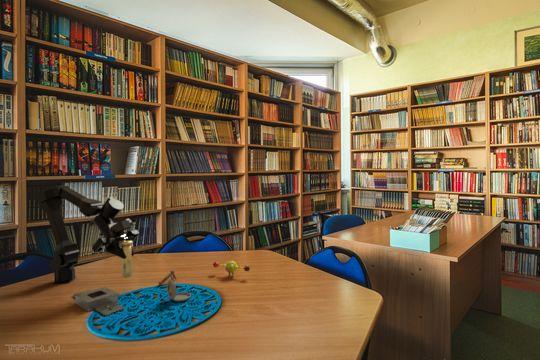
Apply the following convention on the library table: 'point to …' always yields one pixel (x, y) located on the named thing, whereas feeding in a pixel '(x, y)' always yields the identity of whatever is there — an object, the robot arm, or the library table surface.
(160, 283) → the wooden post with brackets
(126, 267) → the pin
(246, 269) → the toy figure
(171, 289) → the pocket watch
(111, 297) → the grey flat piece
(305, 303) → the library table surface
